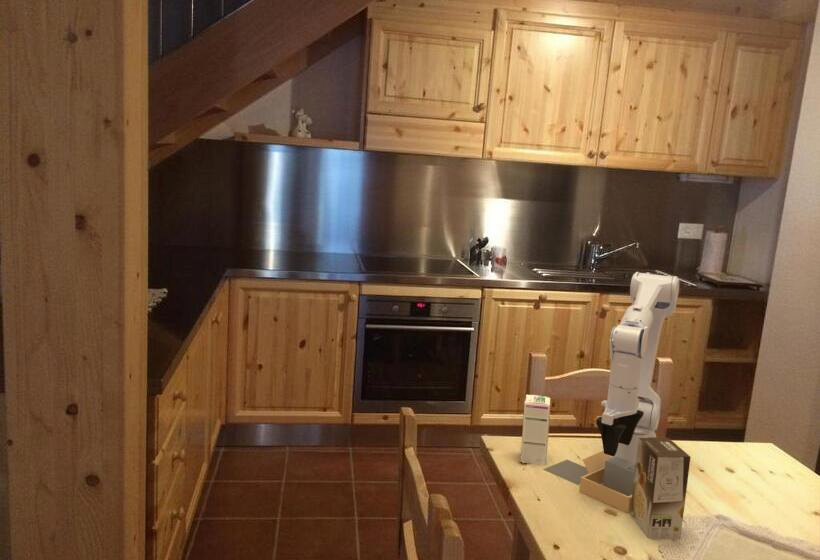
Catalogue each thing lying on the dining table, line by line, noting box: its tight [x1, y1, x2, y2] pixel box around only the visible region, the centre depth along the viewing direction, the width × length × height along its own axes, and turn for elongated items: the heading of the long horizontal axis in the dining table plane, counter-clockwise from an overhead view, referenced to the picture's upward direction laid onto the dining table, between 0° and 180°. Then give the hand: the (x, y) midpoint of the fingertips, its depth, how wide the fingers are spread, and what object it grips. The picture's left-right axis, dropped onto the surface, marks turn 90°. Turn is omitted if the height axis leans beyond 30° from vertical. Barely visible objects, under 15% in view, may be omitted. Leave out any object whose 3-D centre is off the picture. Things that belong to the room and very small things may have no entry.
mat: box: [542, 459, 589, 486], centre depth 149 cm, size 9×9×1 cm
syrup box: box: [520, 394, 551, 466], centre depth 154 cm, size 6×6×14 cm
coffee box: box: [629, 436, 692, 540], centre depth 126 cm, size 9×6×16 cm
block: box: [603, 456, 636, 496], centre depth 140 cm, size 4×7×6 cm, turn 42°
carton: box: [578, 450, 632, 514], centre depth 140 cm, size 15×15×6 cm
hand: (616, 449), depth 138 cm, fingers open, 7 cm apart
